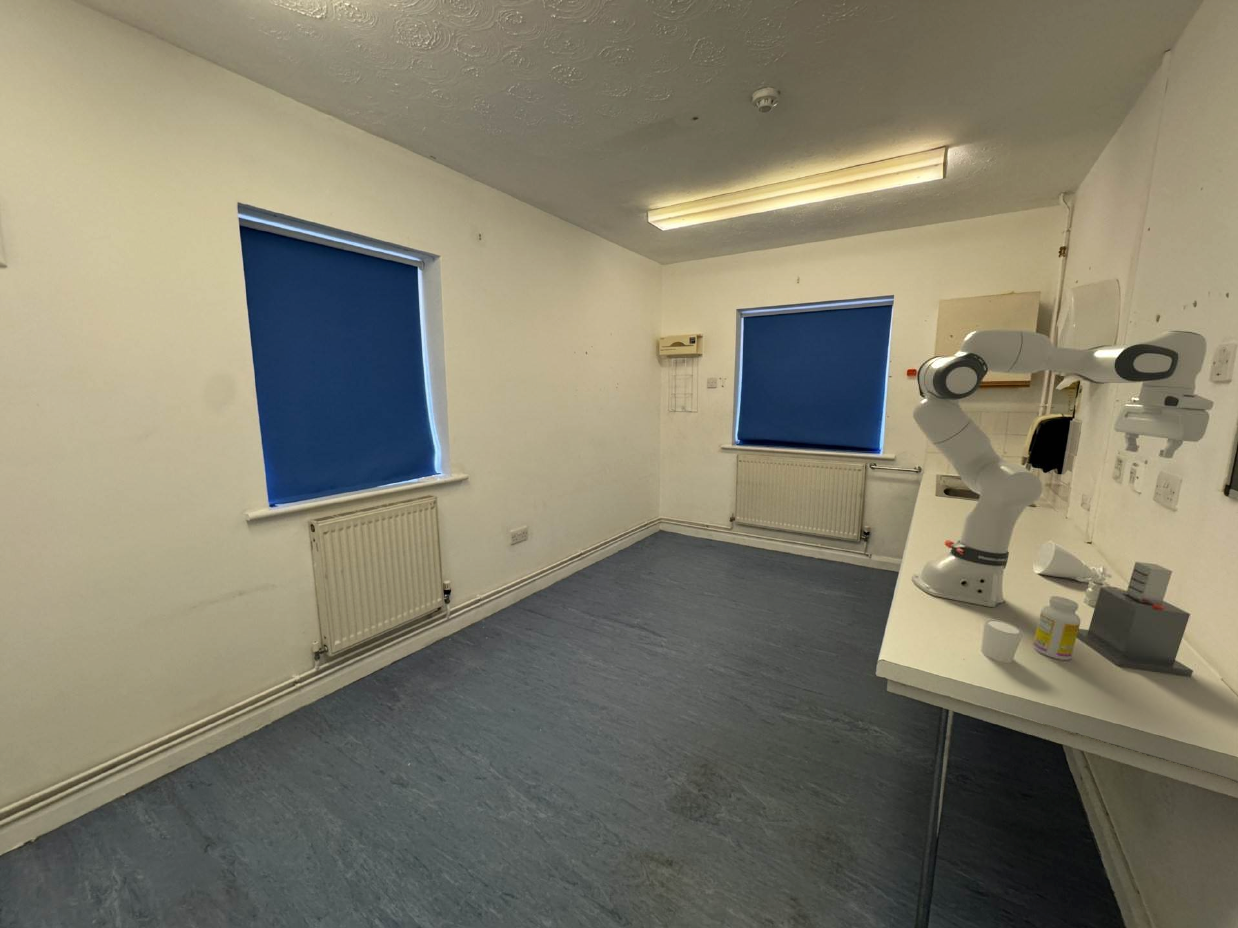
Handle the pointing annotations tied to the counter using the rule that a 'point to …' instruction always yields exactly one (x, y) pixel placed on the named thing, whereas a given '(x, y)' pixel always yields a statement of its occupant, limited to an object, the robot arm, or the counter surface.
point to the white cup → (1000, 640)
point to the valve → (1093, 593)
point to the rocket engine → (1066, 565)
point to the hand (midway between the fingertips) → (1147, 454)
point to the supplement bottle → (1057, 628)
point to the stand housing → (1137, 633)
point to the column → (1148, 583)
